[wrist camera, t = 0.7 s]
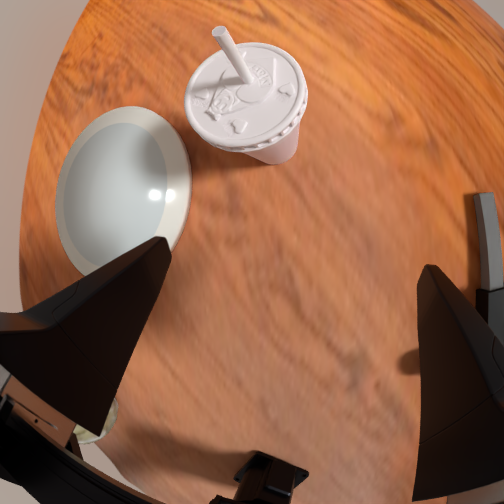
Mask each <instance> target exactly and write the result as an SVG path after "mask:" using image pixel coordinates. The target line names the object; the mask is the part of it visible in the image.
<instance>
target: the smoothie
mask: <svg viewBox="0 0 504 504" xmlns="http://www.w3.org/2000/svg"><path fill="white" fill-rule="evenodd" d="M212 35H213V36H214V38H215V39H216V41H217V42H218V44H219V45H220V47H221V48H222V50H220V51H218V52H216V53H215V54H213V55H211V56H210V57H209V58H207V59H206V60H205V61H204V62H203V63H202V64H201V65H200V66H199V67H198V68H197V69H196V71H195V72H194V73H193V75H192V77H191V78H190V80H189V82H188V85H187V88H186V91H185V96H184V108H185V113H186V117H187V119H188V121H189V123H190V125H191V126H192V128H193V129H194V130H195V131H196V132H197V133H198V134H199V135H200V136H201V138H202V139H204V140H205V141H207V142H208V143H209V144H211V145H212V146H214V147H217V148H220V149H223V150H225V151H231V152H243V153H245V154H247V155H249V156H251V157H254V158H256V159H258V160H260V161H262V162H264V163H267V164H272V165H276V164H281V163H284V162H286V161H288V160H289V159H290V158H291V157H292V156H293V155H294V153H295V152H296V149H297V145H298V135H299V124H300V120H301V118H302V116H303V113H304V111H305V109H306V106H307V97H308V90H307V85H306V81H305V78H304V75H303V72H302V70H301V68H300V66H299V64H298V63H297V62H296V60H295V59H294V58H293V57H292V56H291V55H290V54H288V53H287V52H285V51H284V50H282V49H280V48H278V47H275V46H273V45H269V44H265V43H255V42H252V43H241V44H236V45H235V43H234V41H233V39H232V38H231V36H230V34H229V33H228V31H227V29H226V28H225V27H224V26H218V27H216V28H215V29H213V31H212Z"/></svg>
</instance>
